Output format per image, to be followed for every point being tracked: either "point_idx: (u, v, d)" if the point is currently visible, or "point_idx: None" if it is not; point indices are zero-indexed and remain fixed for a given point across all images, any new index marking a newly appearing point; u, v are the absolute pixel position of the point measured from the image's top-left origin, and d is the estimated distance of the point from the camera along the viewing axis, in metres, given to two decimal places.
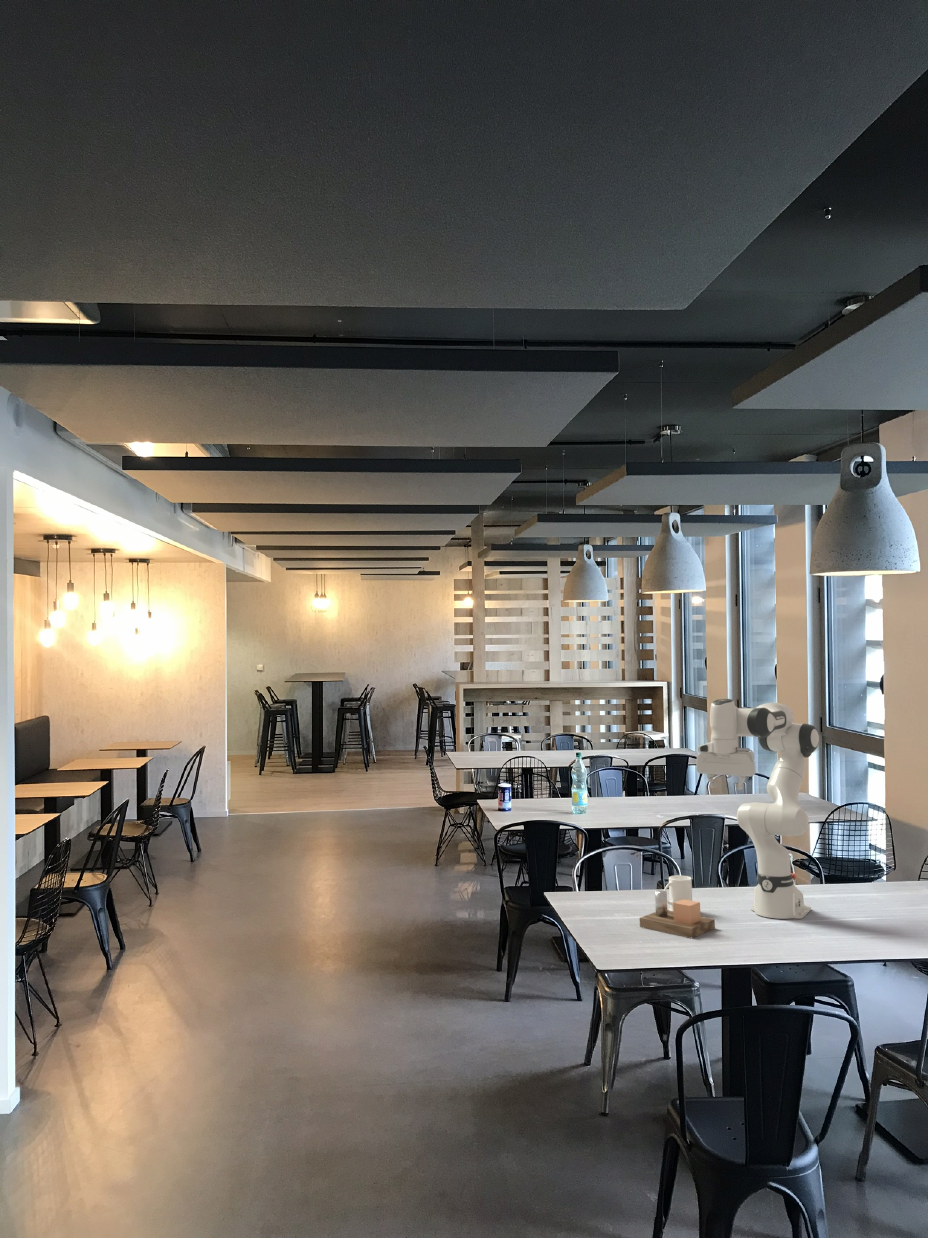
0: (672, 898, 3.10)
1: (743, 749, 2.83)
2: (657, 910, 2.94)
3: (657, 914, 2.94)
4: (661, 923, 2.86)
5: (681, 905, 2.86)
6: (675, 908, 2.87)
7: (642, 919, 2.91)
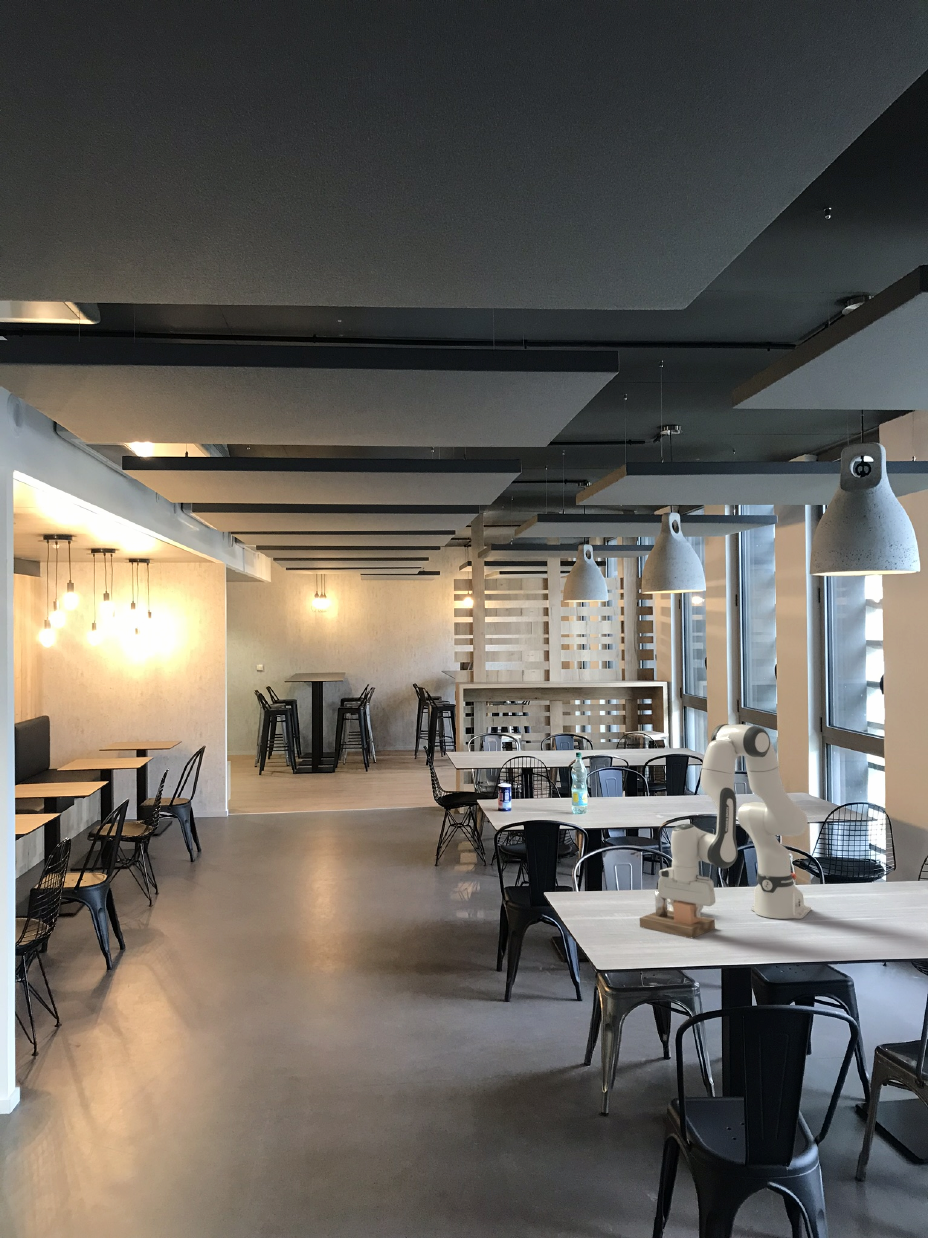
0: None
1: (703, 878, 2.83)
2: (657, 910, 2.94)
3: (657, 914, 2.94)
4: (661, 923, 2.86)
5: (681, 905, 2.86)
6: (675, 908, 2.87)
7: (642, 919, 2.91)
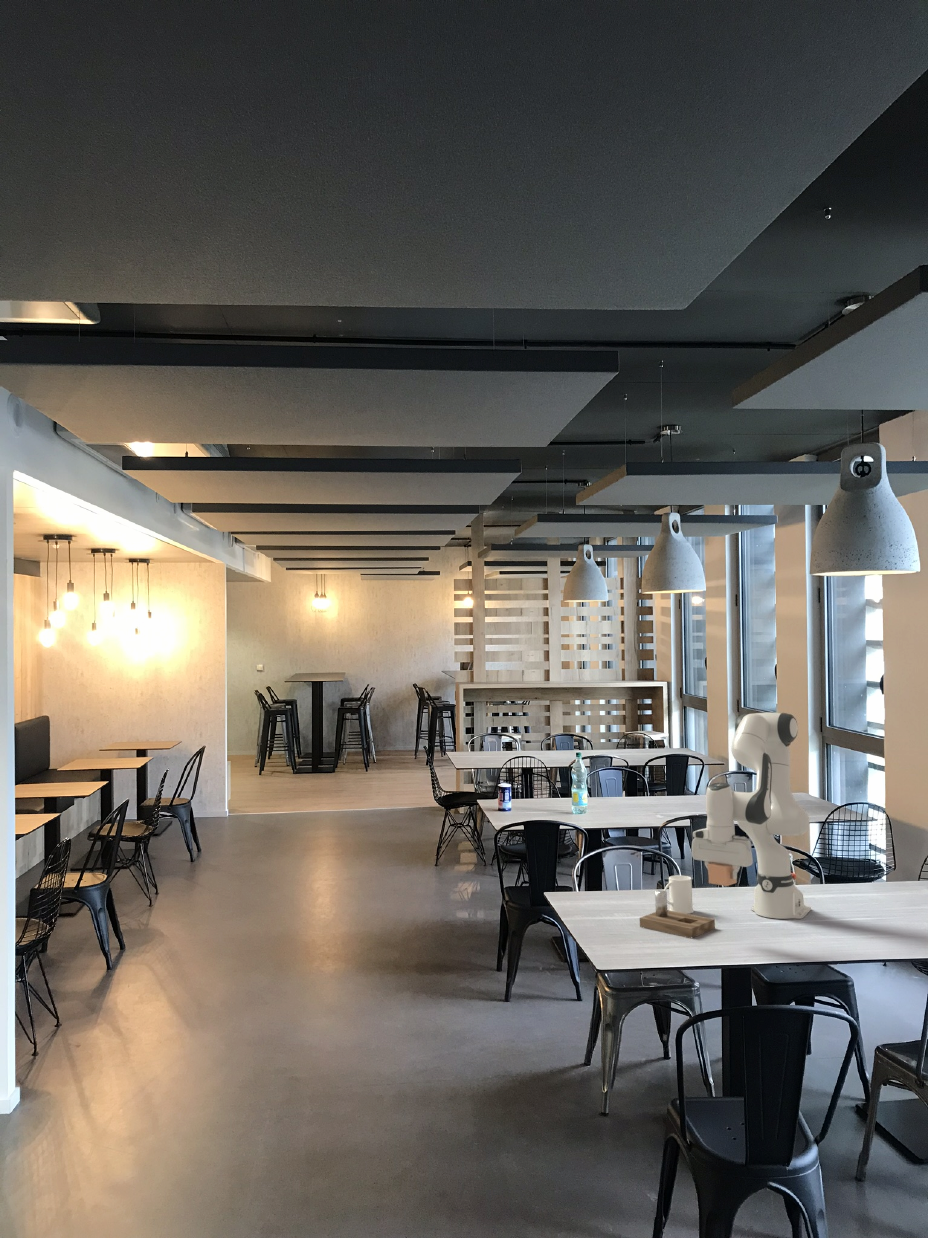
0: (672, 898, 3.10)
1: (740, 838, 2.72)
2: (657, 910, 2.94)
3: (657, 914, 2.94)
4: (661, 923, 2.86)
5: (717, 866, 2.75)
6: (710, 870, 2.76)
7: (642, 919, 2.91)
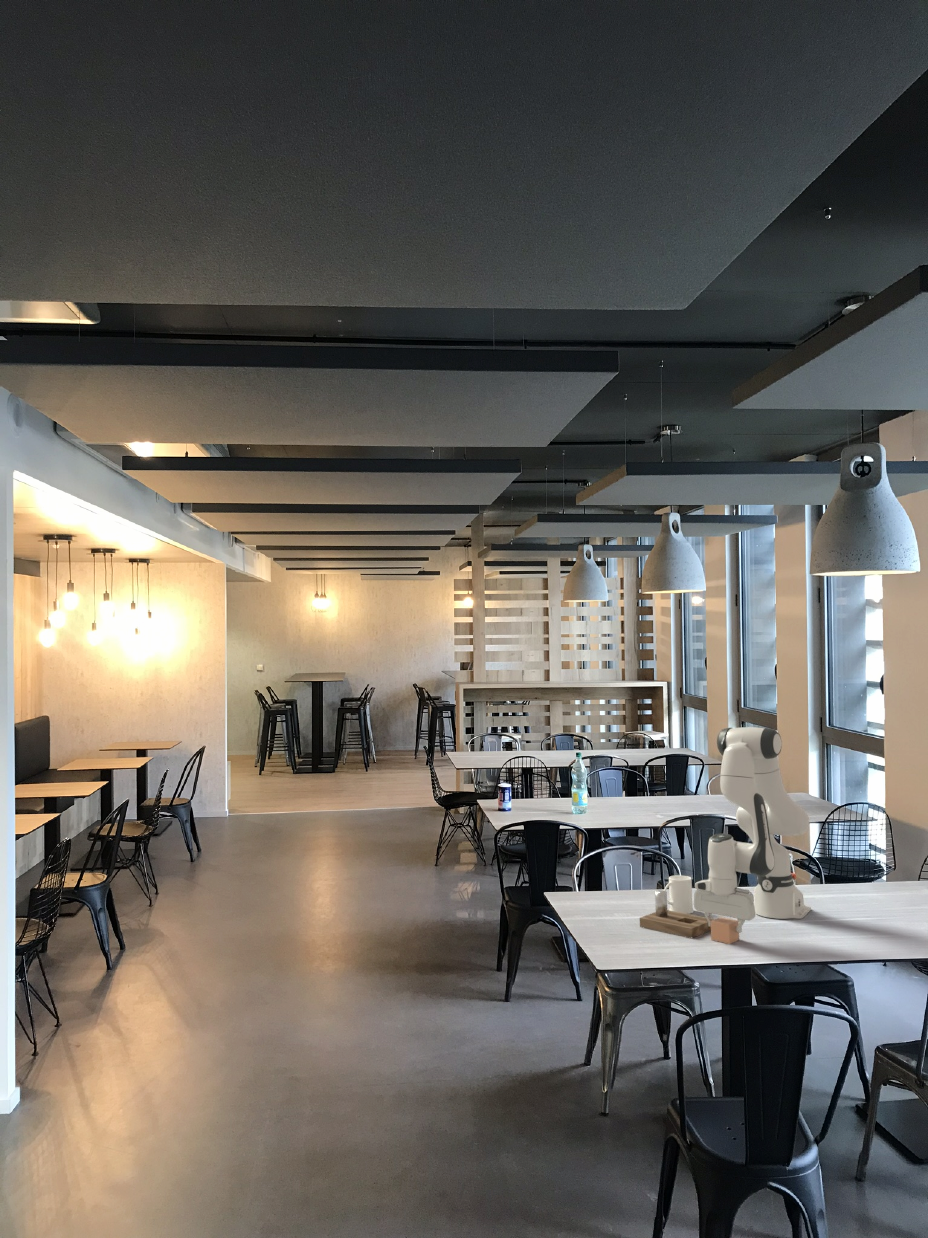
0: (672, 898, 3.10)
1: (743, 891, 2.71)
2: (657, 910, 2.94)
3: (657, 914, 2.94)
4: (661, 923, 2.86)
5: (719, 924, 2.73)
6: (713, 927, 2.75)
7: (642, 919, 2.91)
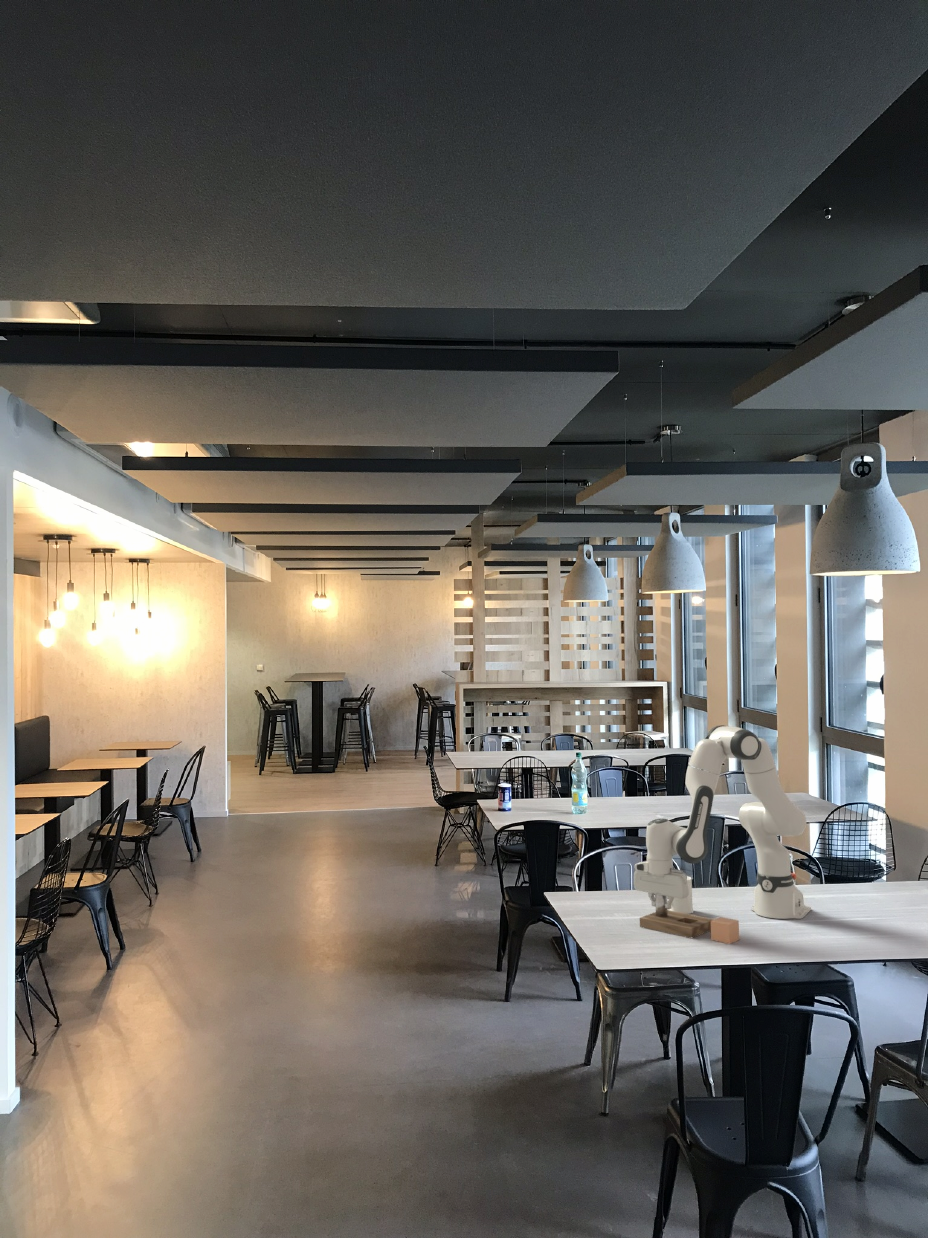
0: None
1: (677, 871, 2.91)
2: (657, 910, 2.94)
3: (657, 914, 2.94)
4: (661, 923, 2.86)
5: (719, 924, 2.73)
6: (713, 927, 2.75)
7: (642, 919, 2.91)
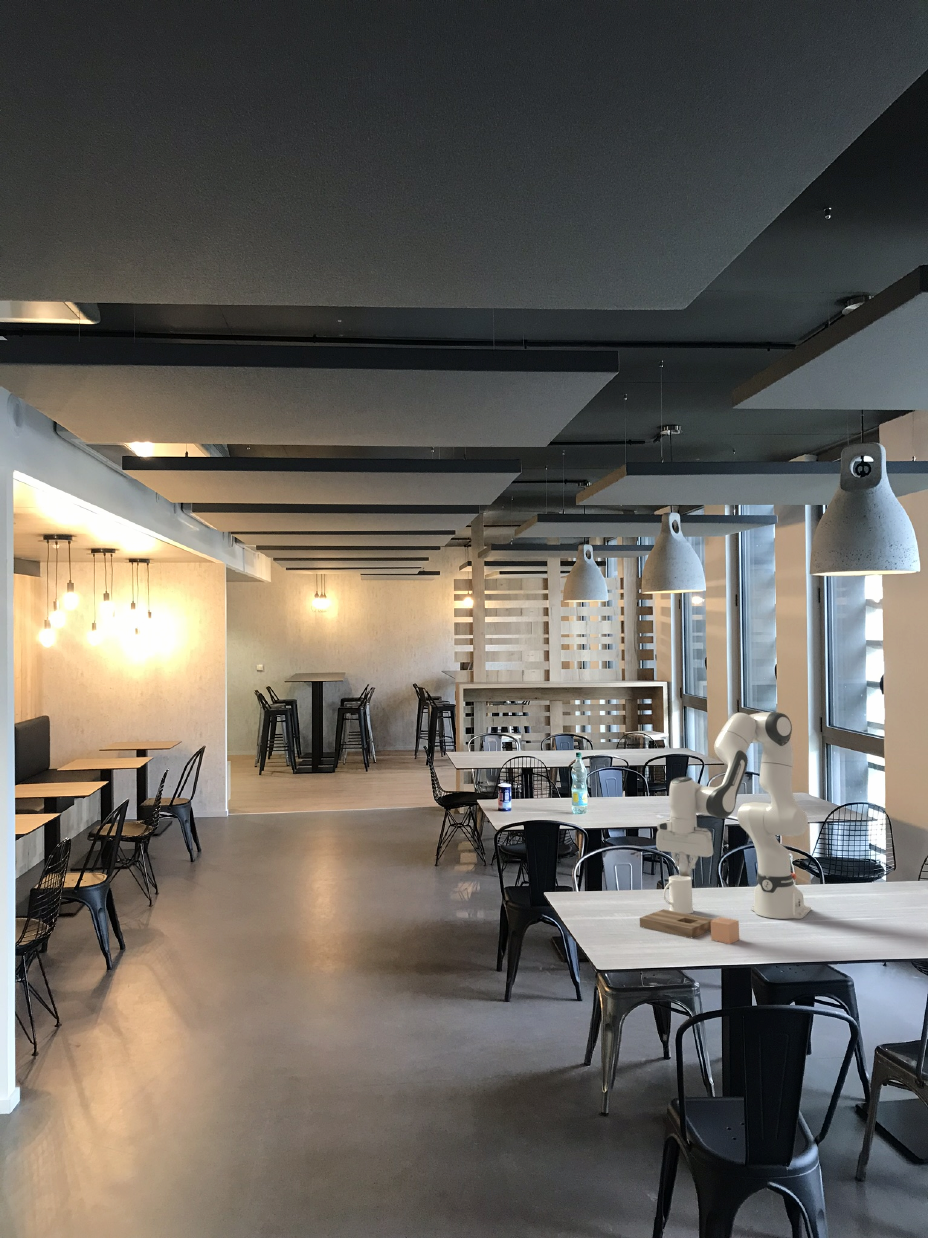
0: (672, 898, 3.10)
1: (701, 829, 2.85)
2: (681, 870, 2.88)
3: (681, 874, 2.88)
4: (661, 923, 2.86)
5: (719, 924, 2.73)
6: (713, 927, 2.75)
7: (642, 919, 2.91)
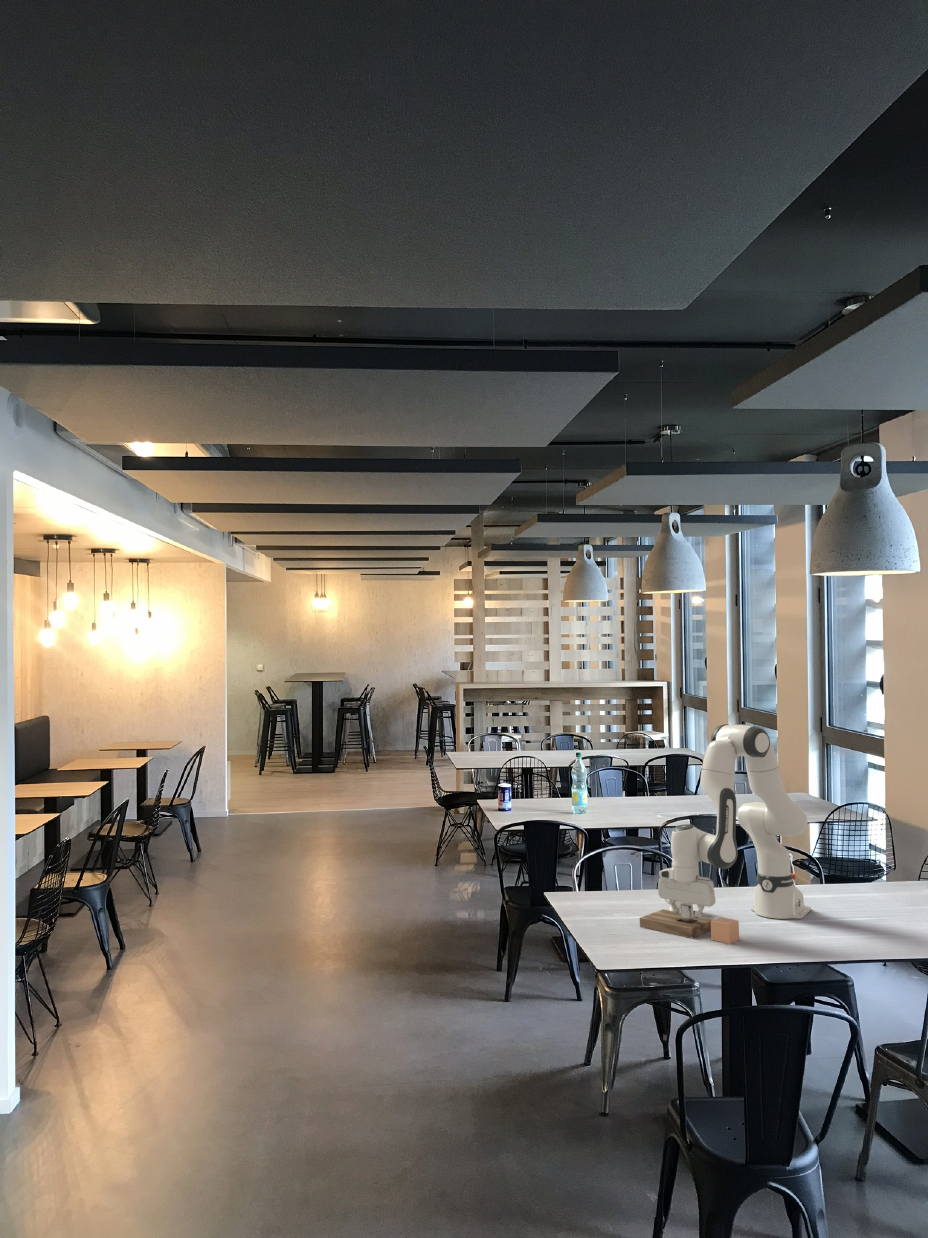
0: None
1: (703, 878, 2.83)
2: None
3: None
4: (661, 923, 2.86)
5: (719, 924, 2.73)
6: (713, 927, 2.75)
7: (642, 919, 2.91)
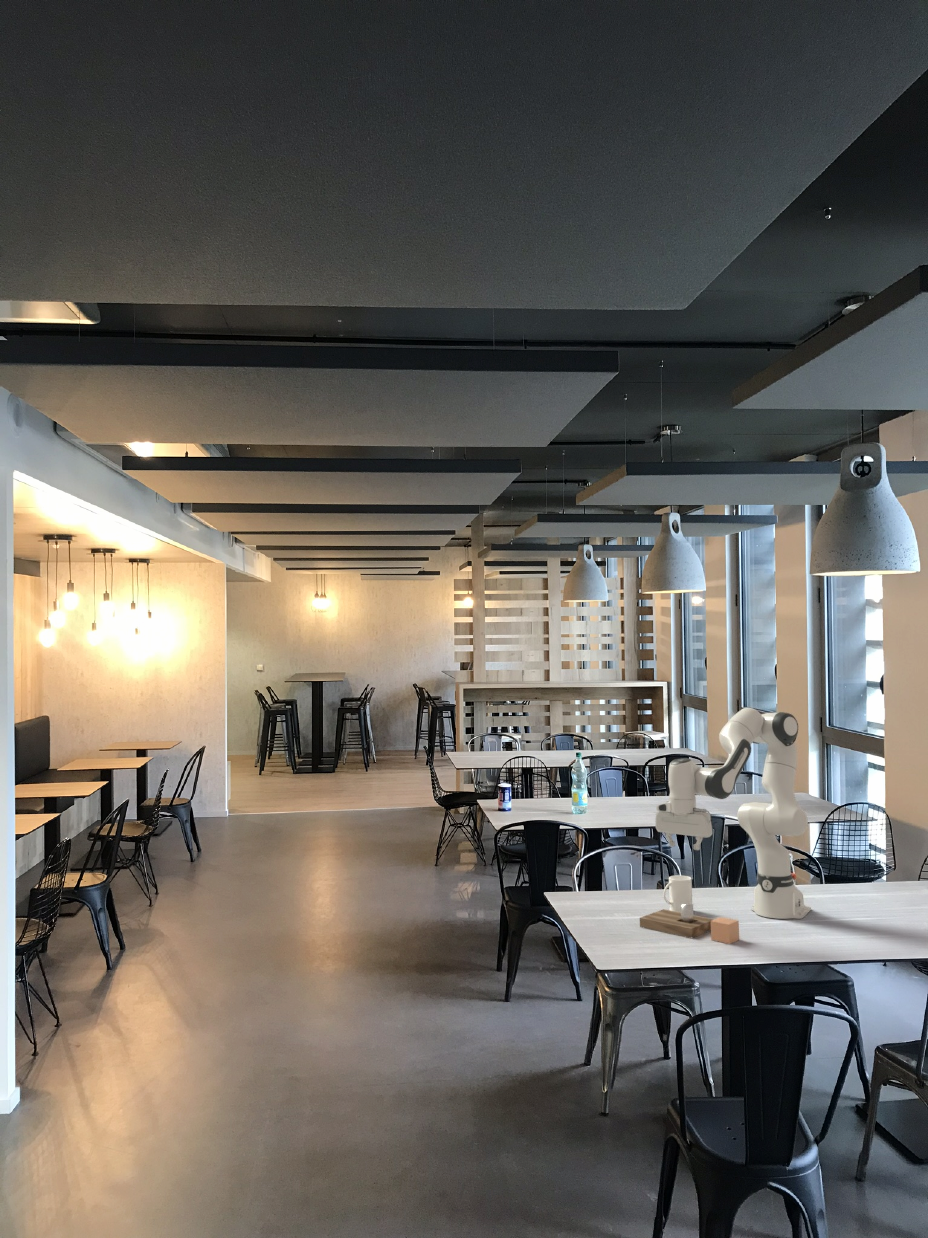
0: (672, 898, 3.10)
1: (700, 810, 2.85)
2: None
3: None
4: (661, 923, 2.86)
5: (719, 924, 2.73)
6: (713, 927, 2.75)
7: (642, 919, 2.91)
